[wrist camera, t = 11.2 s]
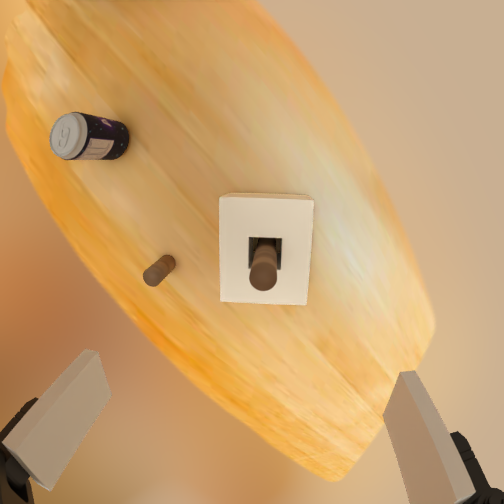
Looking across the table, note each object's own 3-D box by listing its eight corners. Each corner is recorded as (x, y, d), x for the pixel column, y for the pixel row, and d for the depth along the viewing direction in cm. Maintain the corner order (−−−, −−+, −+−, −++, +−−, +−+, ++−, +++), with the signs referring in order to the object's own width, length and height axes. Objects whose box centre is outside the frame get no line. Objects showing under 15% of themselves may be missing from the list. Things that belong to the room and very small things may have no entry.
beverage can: (137, 126, 35) (88, 114, 24) (125, 163, 37) (73, 165, 25) (106, 119, 35) (55, 108, 24) (96, 154, 37) (42, 154, 25)
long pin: (258, 232, 38) (249, 264, 25) (276, 233, 38) (277, 265, 24) (257, 250, 39) (249, 290, 25) (275, 250, 39) (276, 291, 25)
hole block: (229, 192, 37) (219, 197, 30) (307, 195, 36) (314, 200, 30) (229, 279, 40) (220, 301, 34) (301, 283, 39) (306, 305, 33)
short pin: (159, 254, 40) (142, 268, 34) (175, 255, 40) (159, 269, 34) (160, 270, 41) (144, 285, 35) (176, 271, 41) (161, 287, 35)
